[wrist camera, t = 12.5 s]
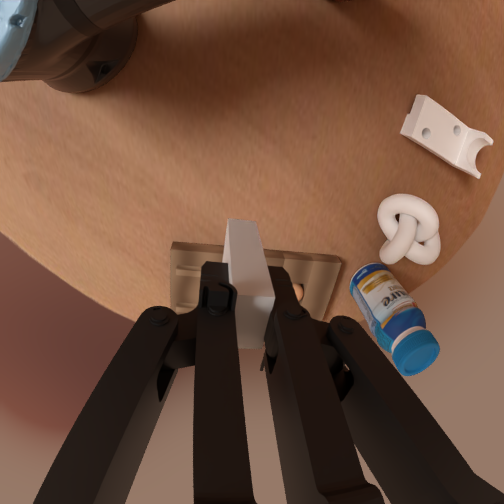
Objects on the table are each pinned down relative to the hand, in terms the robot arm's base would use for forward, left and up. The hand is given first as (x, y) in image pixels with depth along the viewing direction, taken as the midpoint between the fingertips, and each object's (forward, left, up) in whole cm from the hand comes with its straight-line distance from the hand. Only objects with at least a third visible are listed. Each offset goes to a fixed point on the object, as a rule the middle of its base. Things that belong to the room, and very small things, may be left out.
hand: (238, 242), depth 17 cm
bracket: (+32, +10, -26) cm, 43 cm away
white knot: (+29, -6, -26) cm, 40 cm away
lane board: (+6, -20, -26) cm, 33 cm away
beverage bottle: (+27, -18, -26) cm, 42 cm away
